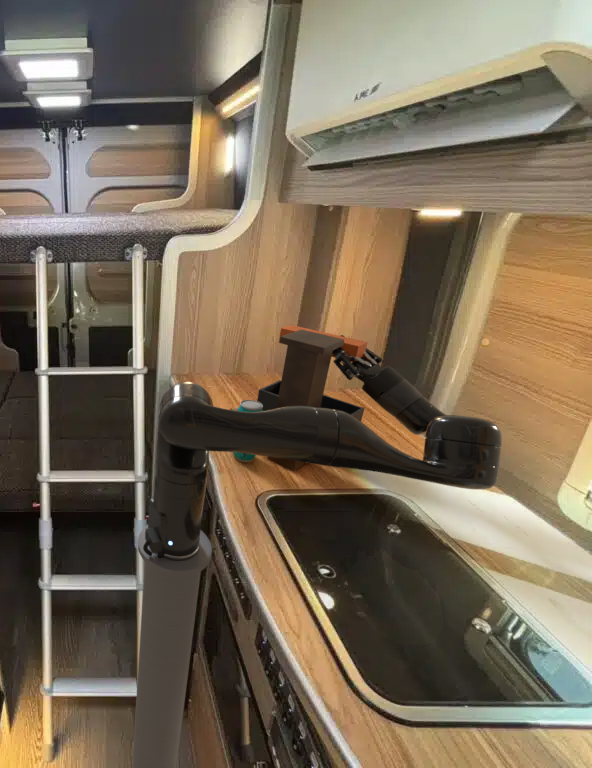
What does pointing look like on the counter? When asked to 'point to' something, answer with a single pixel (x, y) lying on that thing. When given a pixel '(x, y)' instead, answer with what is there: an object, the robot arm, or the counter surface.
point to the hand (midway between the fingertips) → (333, 340)
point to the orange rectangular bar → (349, 344)
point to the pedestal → (304, 374)
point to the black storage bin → (271, 394)
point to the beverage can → (248, 407)
